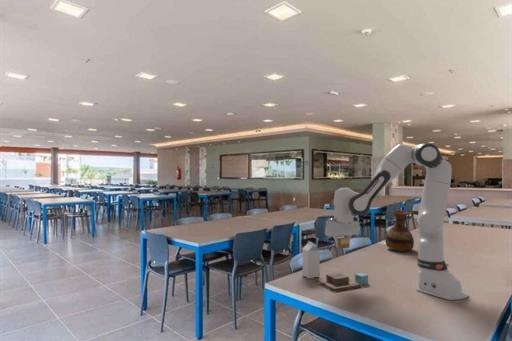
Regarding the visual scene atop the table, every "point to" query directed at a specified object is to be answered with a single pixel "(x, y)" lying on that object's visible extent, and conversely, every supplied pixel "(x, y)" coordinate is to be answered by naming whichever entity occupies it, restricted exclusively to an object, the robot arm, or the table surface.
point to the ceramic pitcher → (399, 234)
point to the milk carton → (311, 261)
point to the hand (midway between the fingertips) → (342, 244)
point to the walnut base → (338, 287)
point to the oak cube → (343, 242)
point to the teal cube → (361, 278)
